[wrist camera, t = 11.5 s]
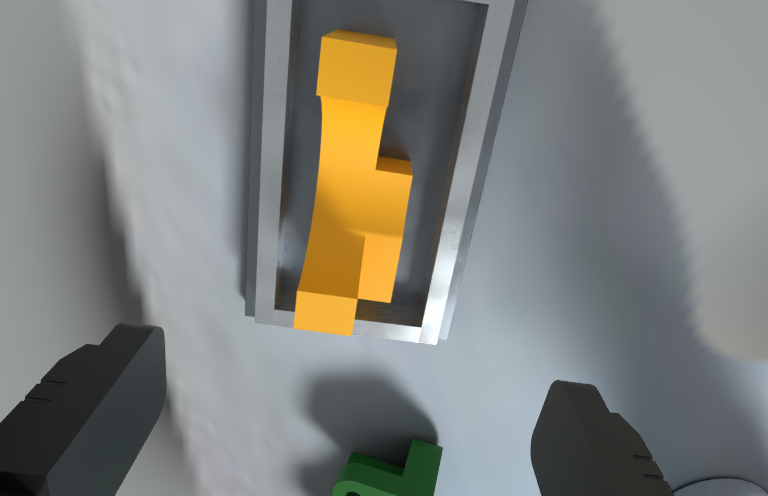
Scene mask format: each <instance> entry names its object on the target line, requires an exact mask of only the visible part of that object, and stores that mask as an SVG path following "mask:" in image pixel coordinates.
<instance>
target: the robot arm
mask: <svg viewBox="0 0 768 496" xmlns="http://www.w3.org/2000/svg"><path fill="white" fill-rule="evenodd" d="M165 397H166V362H165V339H164V331H163V329H162V328H161V327H157V326H150V325H142V324H135V323H126V322H121V323H119V324H118V325H116V326H115V328H114V329H113V330H112V331H111V332H110V334H109V335H108V336H107V337H106V338H105V339H104V340H103V342H102V343H101V344H100V345H91V344H86V345H84V346H82V347H81V348H79V349H77V350H76V351H74V352H72V353H70V354H69V355H67V356H65V357H64V358H62V359H60V360H59V361H58V362H57V363H56V364H55V365H54V366H53V367H52V369H51V370H50V371H49V372H48V373H47V374H46V375H45V376H44V377H43V378H42V379H41V383H40V384H36V386H35V387H34V388H33V389H32V390H31V391H30V392H29V393H28V394H27V395H26V397H25V400H24V401H21V402H20V403H19V404H18V405H17V406H16V407H15V408H14V409H13V410H12V411H11V412H10V413H9V414H8V415H7V416H6V418H5V419H4V420H3V421H2V422H1V423H0V496H115V494H116V492H117V491H118V489H119V487H120V486H121V484H122V482H123V480H124V478H125V476H126V475H127V473H128V471H129V470H130V468H131V466H132V464H133V462H134V461H135V459H136V457H137V455H138V454H139V452H140V450H141V448H142V447H143V445H144V443H145V441H146V440H147V438H148V436H149V434H150V432H151V431H152V429H153V427H154V425H155V424H156V422H157V420H158V418H159V416H160V414H161V411H162V408H163V405H164V401H165ZM531 461H532V466H533V469H534V473H535V476H536V479H537V483H538V486H539V489H540V492H541V496H768V494H767V493H766V492H765V491H764V490H763V489H762V488H761V487H759V486H757V485H755V484H754V483H751V482H747V481H744V480H739V479H730V478H726V479H712V480H706V481H701V482H698V483H695V484H692V485H688V486H686V487H684V488H682V489H680V490H678V491H676V492H674V493H673V492H672V490H671V488H670V486H669V485H668V483H667V481H664V480H663V477H664V476H663V474H662V473H661V471H660V469H659V467H658V466H657V464H656V462H654V461H652V455H651V454H650V452H649V450H648V448H647V447H646V445H645V443H644V441H643V440H642V438H641V436H640V435H639V433H638V432H637V431H636V430H634V429H633V428H632V427H631V426H630V425H629V424H628V423H627V422H626V421H625V420H624V419H623V418H622V417H621V416H620V415H619V414H618V413H610V412H609V410H608V408H607V406H606V404H605V402H604V401H603V399H602V397H601V395H600V393H599V391H598V390H597V388H596V387H595V386H593V385H591V384H583V383H575V382H568V381H560V380H556V381H554V382H553V383H552V385H551V386H550V389H549V391H548V394H547V397H546V399H545V402H544V405H543V407H542V410H541V413H540V415H539V418H538V421H537V423H536V426H535V429H534V431H533V435H532V439H531Z"/></svg>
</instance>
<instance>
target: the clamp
mask: <svg viewBox="0 0 768 496" xmlns="http://www.w3.org/2000/svg"><path fill="white" fill-rule="evenodd" d="M442 450H443V447H440V446H437V445H433V444H430V443H427V442H424V441H421V440H418V439H414V438H413V439H412V443H411V447H410V450H409V454H408V457H407V461H406V465H405V468H401V467H398V466H395V465H392V464H389V463H386V462H383V461H380V460H377V459H373V458H370V457H367V456H364V455H361V454H358V453H352V454H351V456H350V459H349V461H348V463H347V465H345V466H344V467H343V468H342V469H341V471H340V473H339V476H338V478H337V480H336V483H335V485H334V487H333V491H332V496H434V491H435V485H436V480H437V475H438V470H439V465H440V460H441V455H442Z"/></svg>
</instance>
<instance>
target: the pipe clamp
mask: <svg viewBox="0 0 768 496" xmlns="http://www.w3.org/2000/svg"><path fill="white" fill-rule="evenodd" d="M396 54H397V47H396V42H395V38H389V37H383V36H377V35H371V34H365V33H360V32H354V31H348V30H342V29H337V30H335V31H333V32H331V33H329V34H327V35H325V36H323V37H322V41H321V51H320V61H319V71H318V82H317V92H316V95H318V96H320V97H321V103H322V135H321V150H320V161H319V171H318V180H317V188H316V196H315V204H314V210H313V217H312V223H311V230H310V235H309V241H308V246H307V252H306V257H305V261H304V266H303V270H302V275H301V279H300V282H299V286H298V289H297V297H296V307H295V318H294V329H301V330H309V331H316V332H324V333H331V334H339V335H346V336H352V331H353V325H354V319H355V312H356V306H357V300H358V299H365V300H372V301H380V302H387V303H390V302H391V297H392V292H393V287H394V282H395V276H396V271H397V266H398V261H399V255H400V250H401V245H402V240H403V232H404V225H405V218H406V212H407V205H408V199H409V194H410V188H411V183H412V178H413V173H412V167H411V161H405V160H399V159H393V158H386V157H380V156H378V151H379V145H380V139H381V134H382V128H383V123H384V118H385V113H386V109H387V107H388V104H389V98H390V92H391V85H392V79H393V73H394V66H395V60H396Z"/></svg>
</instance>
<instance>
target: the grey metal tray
mask: <svg viewBox="0 0 768 496" xmlns="http://www.w3.org/2000/svg"><path fill="white" fill-rule="evenodd" d="M527 1H528V0H254V24H253V59H252V93H251V128H250V163H249V197H248V232H247V267H246V301H245V316H252V317H255V323H261V324H269V325H277V326H285V327H294V318H295V307H296V297H297V289H298V286H299V282H300V279H301V275H302V270H303V266H304V261H305V257H306V252H307V246H308V241H309V235H310V230H311V223H312V217H313V210H314V204H315V196H316V188H317V180H318V171H319V161H320V150H321V135H322V103H321V97H320V96H318V95H316V92H317V82H318V71H319V61H320V51H321V41H322V37H323V36H325V35H327V34H329V33H331V32H333V31H335V30H337V29H342V30H348V31H354V32H360V33H365V34H371V35H377V36H383V37H389V38H395V42H396V47H397V54H396V60H395V66H394V73H393V79H392V85H391V92H390V98H389V104H388V107H387V109H386V113H385V118H384V123H383V128H382V134H381V139H380V145H379V151H378V156H380V157H386V158H393V159H399V160H405V161H411V167H412V173H413V178H412V183H411V188H410V194H409V199H408V205H407V212H406V218H405V225H404V232H403V240H402V245H401V250H400V255H399V261H398V266H397V271H396V276H395V282H394V287H393V292H392V297H391V302H390V303H387V302H380V301H372V300H365V299H358V300H357V306H356V312H355V319H354V325H353V331H352V335H359V336H368V337H376V338H384V339H392V340H401V341H409V342H417V343H425V344H434V345H436V344H437V339H441V340H447V337H448V333H449V328H450V324H451V320H452V316H453V312H454V307H455V303H456V299H457V295H458V291H459V286H460V282H461V278H462V274H463V270H464V265H465V261H466V257H467V253H468V249H469V244H470V240H471V236H472V232H473V228H474V223H475V219H476V215H477V211H478V207H479V202H480V198H481V194H482V190H483V186H484V181H485V177H486V173H487V169H488V165H489V160H490V156H491V152H492V148H493V144H494V139H495V135H496V131H497V127H498V123H499V119H500V114H501V110H502V106H503V102H504V98H505V93H506V89H507V85H508V81H509V77H510V72H511V68H512V64H513V60H514V56H515V51H516V47H517V43H518V39H519V35H520V30H521V26H522V22H523V18H524V14H525V9H526V5H527Z"/></svg>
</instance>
